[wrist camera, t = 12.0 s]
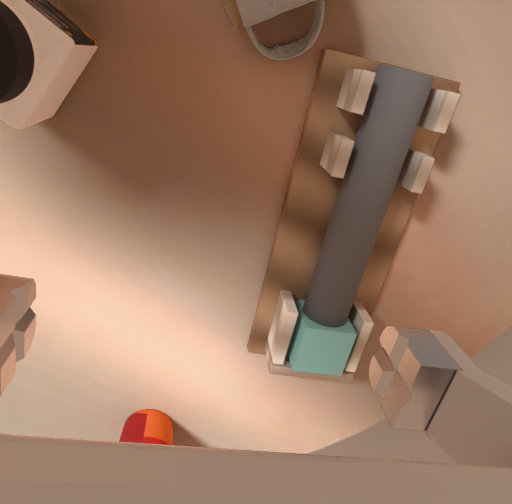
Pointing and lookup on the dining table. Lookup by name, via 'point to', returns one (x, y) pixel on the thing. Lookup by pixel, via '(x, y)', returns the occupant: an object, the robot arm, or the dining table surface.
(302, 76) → the dining table surface
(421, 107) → the grey and teal rod
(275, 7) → the ceramic mug
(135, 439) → the paper cup
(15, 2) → the medicine bottle
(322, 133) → the wooden cradle
